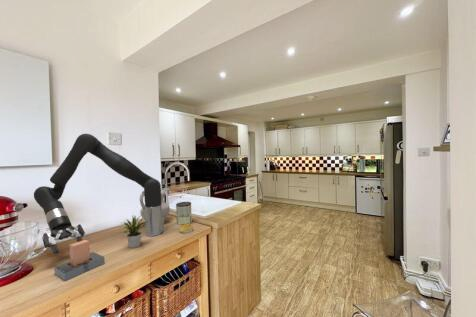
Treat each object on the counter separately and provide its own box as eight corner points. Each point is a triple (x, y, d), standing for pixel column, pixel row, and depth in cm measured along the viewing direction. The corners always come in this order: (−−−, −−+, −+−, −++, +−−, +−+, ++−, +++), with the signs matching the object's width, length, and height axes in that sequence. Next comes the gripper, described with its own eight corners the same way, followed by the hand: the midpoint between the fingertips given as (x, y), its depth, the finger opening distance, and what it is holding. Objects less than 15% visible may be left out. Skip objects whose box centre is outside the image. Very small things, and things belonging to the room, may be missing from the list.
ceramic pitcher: (156, 230, 129) (158, 192, 128) (130, 227, 132) (132, 190, 132) (174, 220, 150) (175, 187, 149) (151, 217, 154) (152, 185, 153)
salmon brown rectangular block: (86, 263, 87) (85, 239, 87) (89, 265, 86) (88, 241, 86) (70, 270, 83) (69, 244, 83) (74, 272, 81) (73, 246, 81)
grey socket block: (93, 258, 93) (93, 251, 93) (104, 263, 88) (104, 256, 88) (54, 274, 81) (54, 266, 81) (64, 281, 76) (64, 273, 76)
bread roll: (185, 227, 130) (185, 221, 130) (195, 230, 125) (195, 223, 125) (175, 232, 123) (175, 225, 123) (185, 234, 118) (185, 228, 118)
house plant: (133, 255, 95) (132, 221, 94) (111, 251, 99) (110, 219, 99) (154, 242, 108) (153, 212, 108) (134, 240, 112) (132, 211, 112)
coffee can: (174, 223, 139) (173, 203, 139) (188, 219, 146) (187, 200, 146) (180, 226, 131) (179, 205, 131) (194, 223, 138) (193, 203, 138)
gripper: (39, 219, 87) (50, 251, 81) (78, 211, 99) (90, 238, 94) (36, 229, 90) (46, 260, 84) (74, 220, 102) (85, 247, 97)
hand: (69, 248), depth 89 cm, fingers open, 8 cm apart
